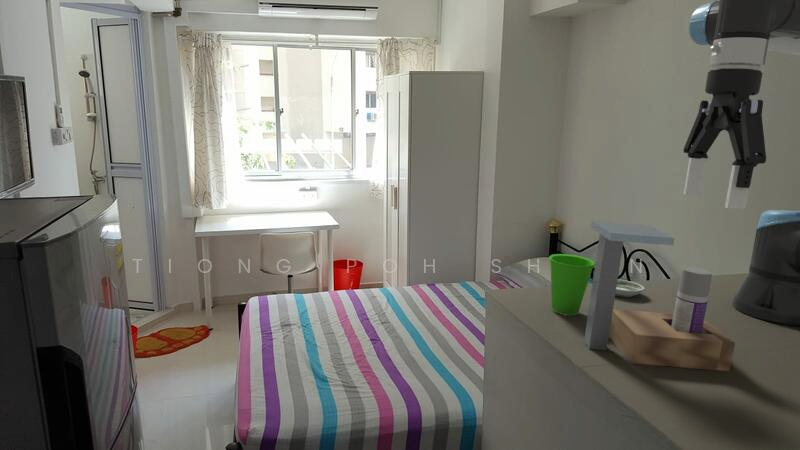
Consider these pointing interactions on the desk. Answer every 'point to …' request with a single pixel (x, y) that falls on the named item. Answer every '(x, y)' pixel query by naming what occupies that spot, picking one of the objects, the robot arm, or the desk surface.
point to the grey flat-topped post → (612, 274)
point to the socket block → (668, 342)
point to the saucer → (628, 288)
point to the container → (691, 300)
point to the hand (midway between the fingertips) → (711, 201)
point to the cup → (569, 281)
